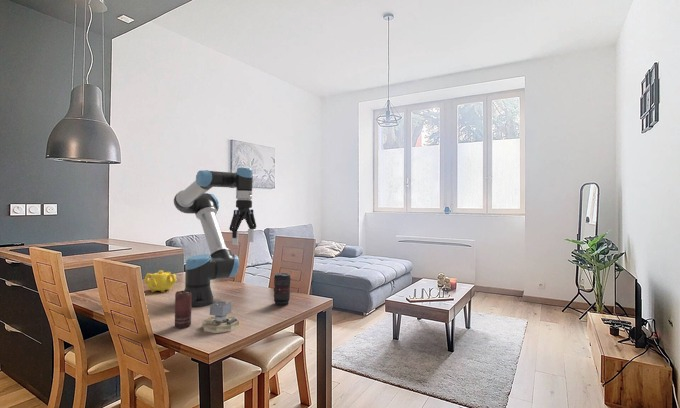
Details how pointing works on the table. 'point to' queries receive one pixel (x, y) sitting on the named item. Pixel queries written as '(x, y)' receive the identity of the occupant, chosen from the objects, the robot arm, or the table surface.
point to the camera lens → (282, 289)
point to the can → (183, 309)
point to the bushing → (220, 311)
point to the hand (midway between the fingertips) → (243, 243)
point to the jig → (213, 327)
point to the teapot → (160, 281)
